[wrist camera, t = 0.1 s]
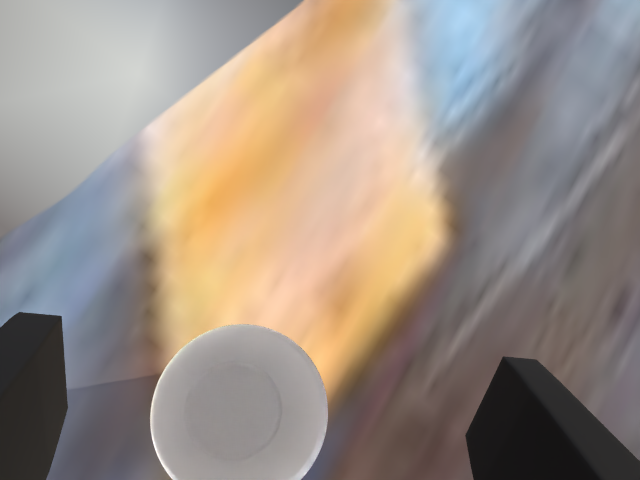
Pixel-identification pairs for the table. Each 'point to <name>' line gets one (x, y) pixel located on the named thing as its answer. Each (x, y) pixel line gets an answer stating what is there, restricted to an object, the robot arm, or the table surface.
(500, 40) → the table surface
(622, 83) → the table surface
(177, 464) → the cup
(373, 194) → the table surface
